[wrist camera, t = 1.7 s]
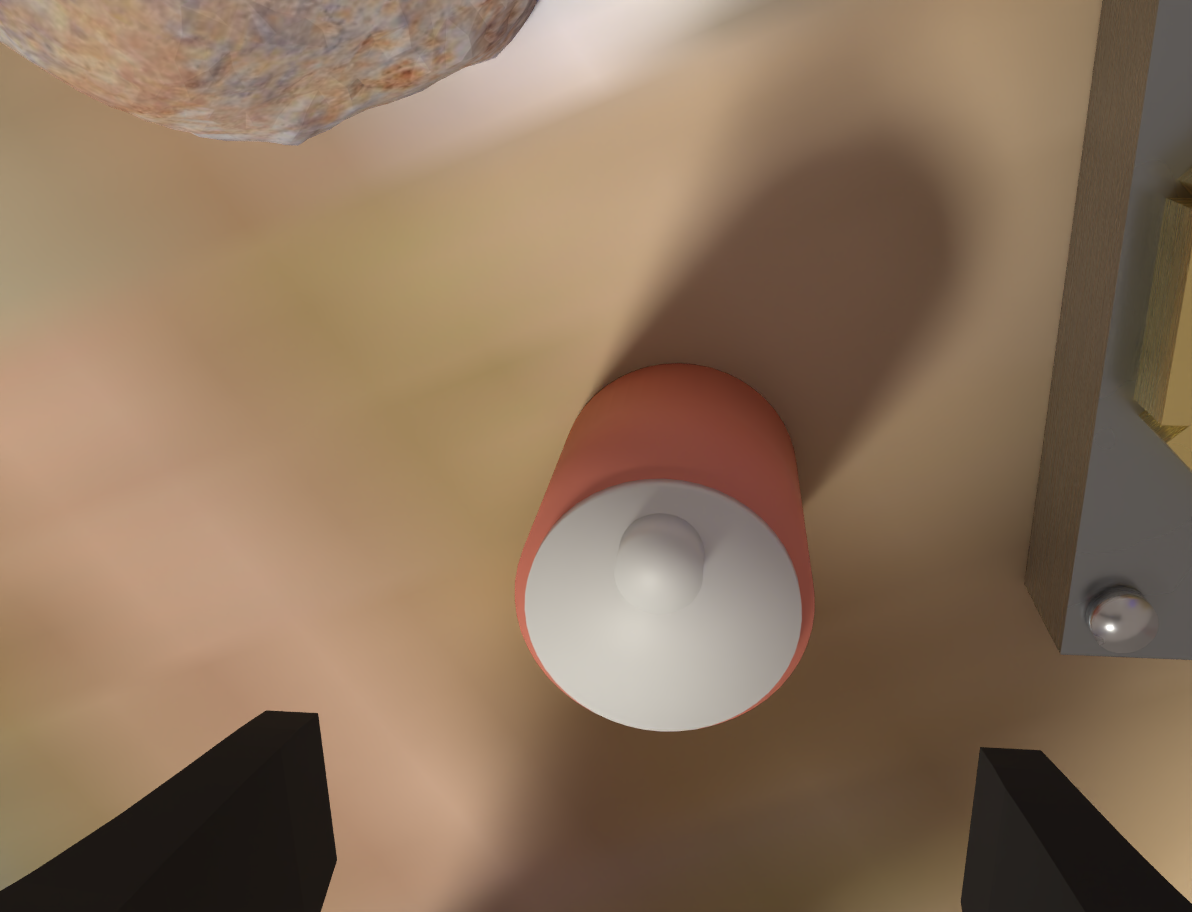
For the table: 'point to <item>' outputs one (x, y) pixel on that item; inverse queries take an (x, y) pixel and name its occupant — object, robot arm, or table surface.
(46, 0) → the stone
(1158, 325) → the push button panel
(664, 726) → the can
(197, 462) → the table surface
